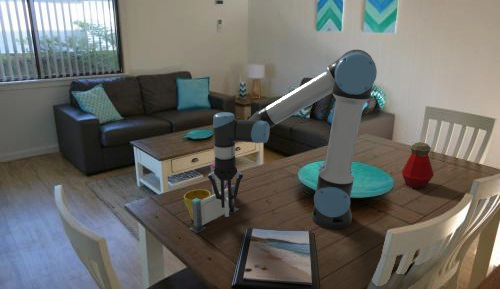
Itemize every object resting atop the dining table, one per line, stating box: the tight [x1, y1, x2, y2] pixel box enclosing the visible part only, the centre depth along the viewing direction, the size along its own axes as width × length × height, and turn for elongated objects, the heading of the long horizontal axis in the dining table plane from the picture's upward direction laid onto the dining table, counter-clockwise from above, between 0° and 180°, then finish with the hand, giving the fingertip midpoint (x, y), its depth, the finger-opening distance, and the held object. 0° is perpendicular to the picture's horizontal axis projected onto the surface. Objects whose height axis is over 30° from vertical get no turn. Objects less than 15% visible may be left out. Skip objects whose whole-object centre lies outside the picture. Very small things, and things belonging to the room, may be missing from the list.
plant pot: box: [183, 188, 212, 221], centre depth 149 cm, size 10×10×10 cm
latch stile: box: [188, 198, 207, 234], centre depth 141 cm, size 4×4×12 cm
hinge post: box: [229, 192, 240, 215], centre depth 156 cm, size 4×4×8 cm
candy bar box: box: [210, 161, 228, 196], centre depth 166 cm, size 11×5×16 cm, turn 168°
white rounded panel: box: [200, 184, 235, 226], centre depth 149 cm, size 18×3×10 cm, turn 140°
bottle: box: [401, 141, 435, 189], centre depth 177 cm, size 16×14×20 cm
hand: (226, 214), depth 145 cm, fingers closed
